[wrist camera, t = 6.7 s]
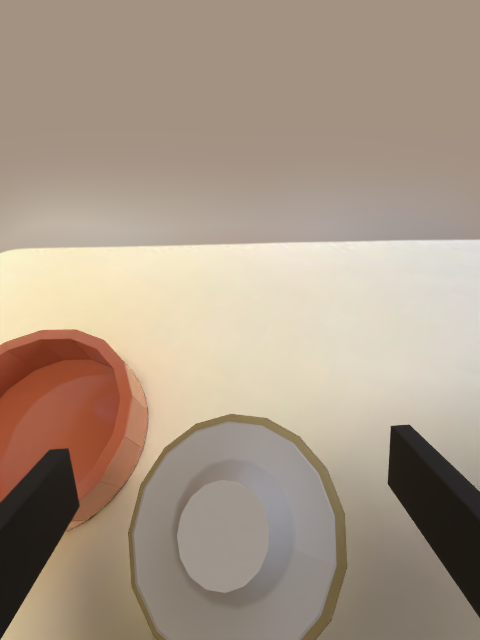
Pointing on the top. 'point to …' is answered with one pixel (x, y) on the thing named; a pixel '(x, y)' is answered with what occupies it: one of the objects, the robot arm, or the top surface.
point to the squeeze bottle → (237, 536)
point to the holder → (70, 413)
